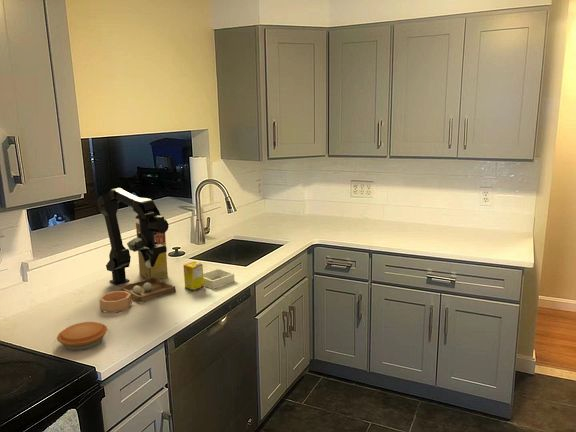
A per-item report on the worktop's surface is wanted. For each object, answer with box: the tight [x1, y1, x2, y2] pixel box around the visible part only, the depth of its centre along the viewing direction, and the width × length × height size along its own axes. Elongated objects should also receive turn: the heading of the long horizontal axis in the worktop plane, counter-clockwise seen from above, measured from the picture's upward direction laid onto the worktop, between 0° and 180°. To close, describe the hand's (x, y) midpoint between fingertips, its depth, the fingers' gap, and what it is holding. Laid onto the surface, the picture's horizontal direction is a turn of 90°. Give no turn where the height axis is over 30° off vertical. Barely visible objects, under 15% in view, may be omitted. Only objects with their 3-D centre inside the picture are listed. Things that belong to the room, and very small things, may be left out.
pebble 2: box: [145, 260, 152, 268], centre depth 200 cm, size 4×4×4 cm
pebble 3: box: [143, 283, 152, 291], centre depth 202 cm, size 4×4×4 cm
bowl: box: [98, 290, 133, 313], centre depth 187 cm, size 11×11×4 cm
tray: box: [119, 277, 176, 304], centre depth 202 cm, size 17×16×2 cm
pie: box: [56, 321, 108, 351], centre depth 159 cm, size 16×16×5 cm
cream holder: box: [203, 268, 236, 290], centre depth 213 cm, size 12×13×4 cm
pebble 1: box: [133, 286, 142, 294], centre depth 198 cm, size 4×4×4 cm
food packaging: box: [135, 221, 169, 280], centre depth 220 cm, size 13×9×25 cm
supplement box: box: [183, 261, 205, 292], centre depth 205 cm, size 6×6×11 cm
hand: (149, 265), depth 200 cm, fingers closed on pebble 2, 4 cm apart
